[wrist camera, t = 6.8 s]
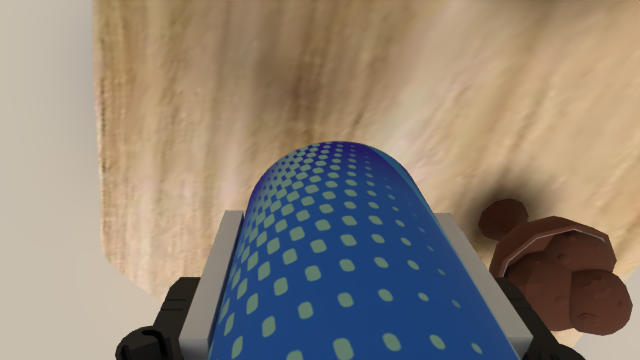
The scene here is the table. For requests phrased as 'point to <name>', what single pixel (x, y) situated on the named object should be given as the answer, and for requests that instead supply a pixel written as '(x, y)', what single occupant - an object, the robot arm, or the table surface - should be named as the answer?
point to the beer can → (349, 269)
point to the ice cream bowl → (558, 269)
